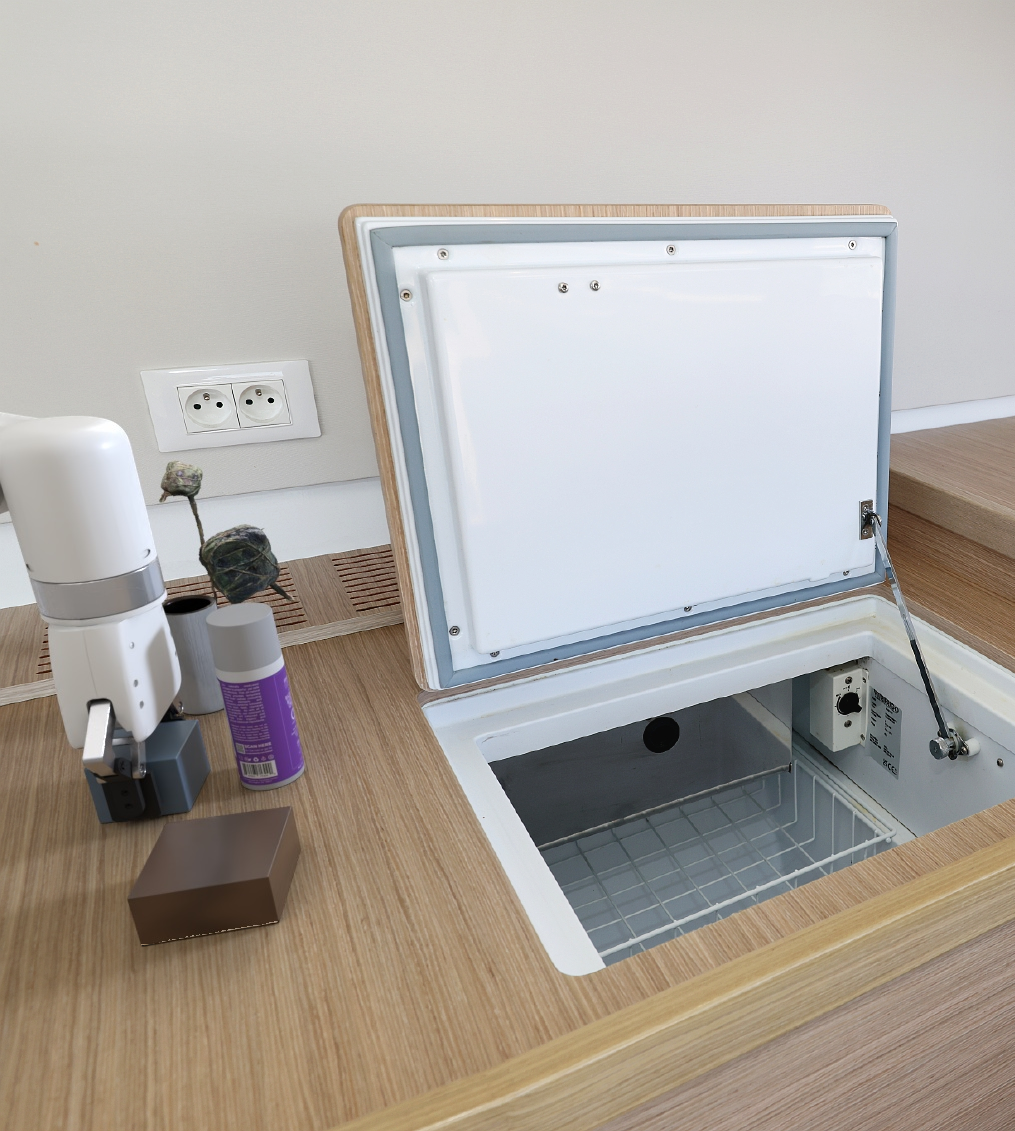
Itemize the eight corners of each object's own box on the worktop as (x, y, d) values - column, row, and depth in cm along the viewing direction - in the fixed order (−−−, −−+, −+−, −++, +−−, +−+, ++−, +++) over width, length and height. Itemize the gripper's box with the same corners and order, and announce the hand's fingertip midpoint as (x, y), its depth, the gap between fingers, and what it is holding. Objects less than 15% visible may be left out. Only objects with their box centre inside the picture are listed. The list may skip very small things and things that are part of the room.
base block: (140, 946, 62) (126, 898, 60) (178, 867, 69) (165, 822, 67) (279, 923, 64) (268, 876, 63) (301, 848, 71) (292, 805, 70)
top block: (99, 824, 73) (82, 769, 71) (126, 779, 78) (112, 727, 76) (190, 812, 75) (176, 758, 73) (210, 769, 80) (198, 718, 78)
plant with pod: (297, 637, 102) (264, 459, 95) (171, 656, 97) (126, 469, 90) (297, 608, 109) (266, 439, 101) (180, 624, 104) (138, 447, 96)
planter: (220, 686, 92) (199, 590, 88) (246, 700, 90) (225, 602, 86) (170, 705, 88) (145, 606, 85) (195, 720, 86) (171, 619, 83)
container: (316, 770, 80) (286, 611, 75) (261, 797, 77) (224, 632, 71) (284, 752, 83) (252, 596, 77) (229, 778, 79) (191, 616, 73)
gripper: (86, 548, 76) (137, 736, 82) (-20, 645, 60) (54, 866, 67) (194, 542, 78) (236, 725, 85) (119, 633, 63) (177, 848, 69)
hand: (155, 786), depth 76 cm, fingers open, 7 cm apart
